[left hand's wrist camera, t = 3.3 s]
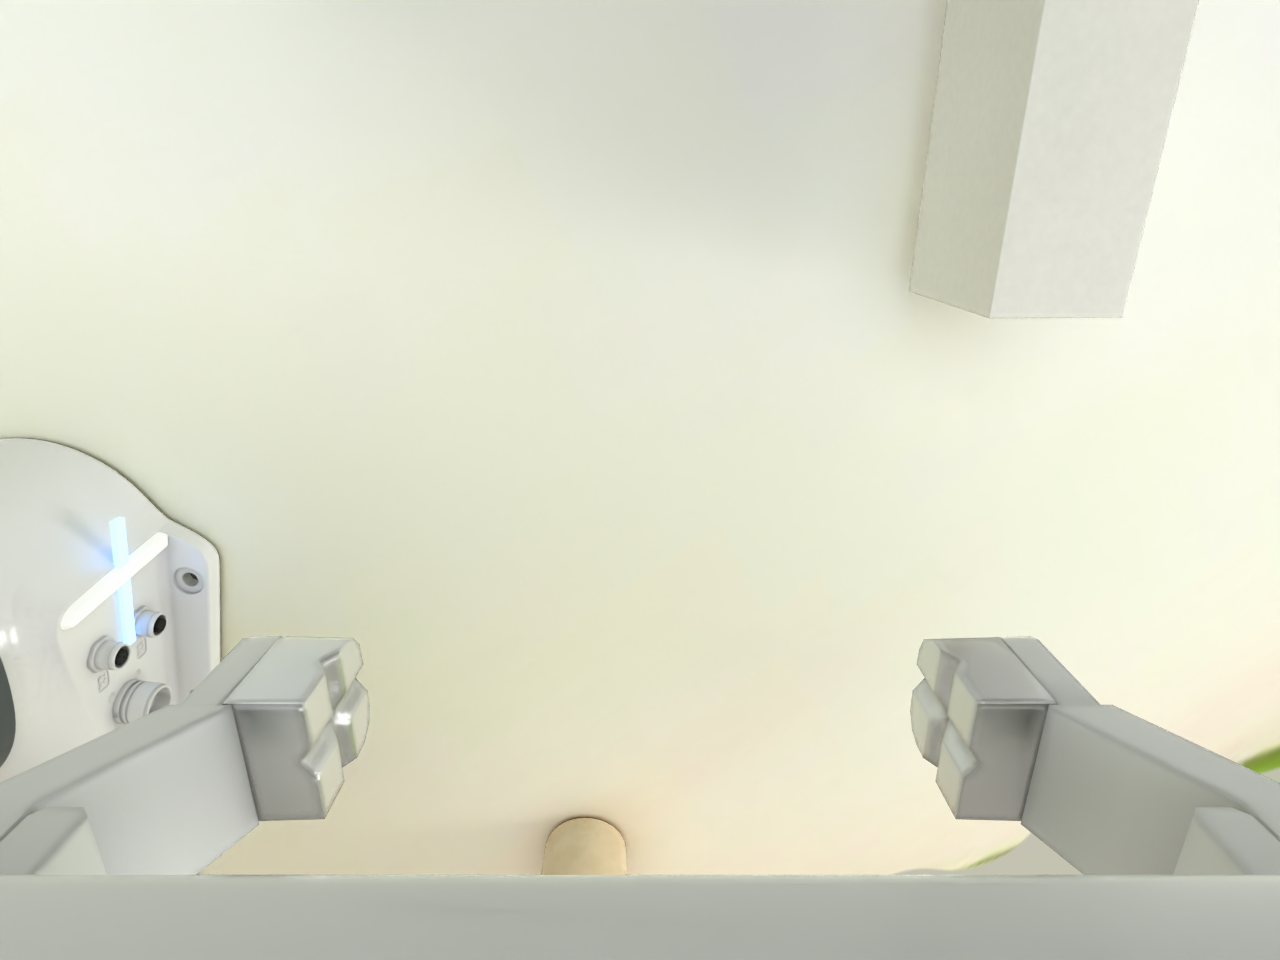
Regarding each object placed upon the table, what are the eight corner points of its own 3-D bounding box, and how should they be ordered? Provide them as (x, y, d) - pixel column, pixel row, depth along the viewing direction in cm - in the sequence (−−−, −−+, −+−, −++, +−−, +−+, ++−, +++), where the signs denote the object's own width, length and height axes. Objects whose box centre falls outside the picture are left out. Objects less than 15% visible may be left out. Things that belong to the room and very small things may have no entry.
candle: (536, 823, 48) (511, 970, 39) (617, 810, 48) (611, 956, 38) (556, 883, 50) (536, 1037, 41) (633, 871, 50) (632, 1024, 40)
